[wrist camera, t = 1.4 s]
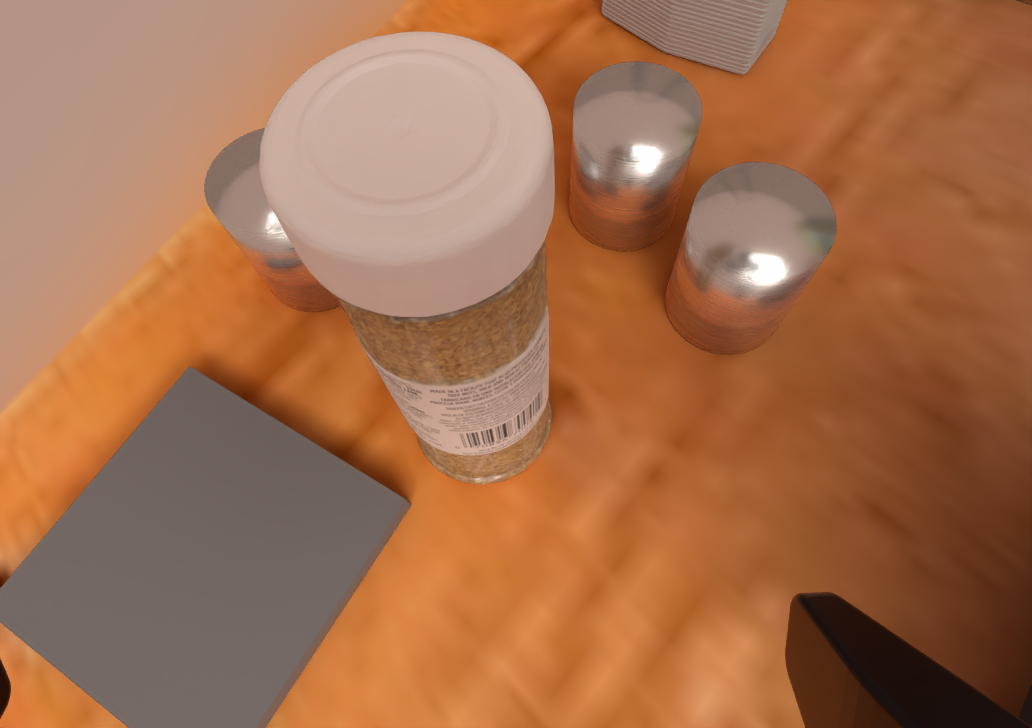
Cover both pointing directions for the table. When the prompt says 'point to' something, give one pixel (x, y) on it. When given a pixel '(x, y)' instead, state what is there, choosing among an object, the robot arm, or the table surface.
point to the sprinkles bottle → (429, 233)
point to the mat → (200, 564)
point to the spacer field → (617, 211)
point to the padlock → (702, 28)
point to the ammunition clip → (1027, 709)
